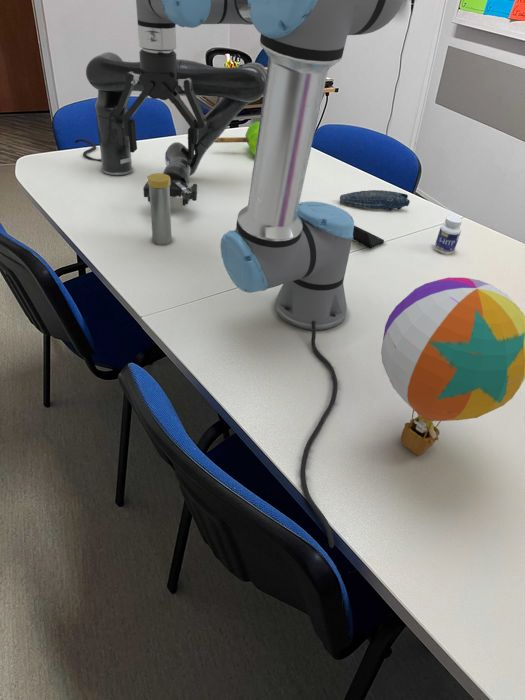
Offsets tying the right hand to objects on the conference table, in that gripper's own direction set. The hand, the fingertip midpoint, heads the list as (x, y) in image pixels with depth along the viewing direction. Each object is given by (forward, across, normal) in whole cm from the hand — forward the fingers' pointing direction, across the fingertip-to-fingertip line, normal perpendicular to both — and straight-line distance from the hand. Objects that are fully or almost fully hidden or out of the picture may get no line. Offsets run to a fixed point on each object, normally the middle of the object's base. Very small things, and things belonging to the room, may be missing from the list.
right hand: (162, 154), depth 120 cm
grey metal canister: (+22, -1, -1) cm, 22 cm away
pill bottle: (+21, +73, +14) cm, 77 cm away
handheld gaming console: (+22, +50, +13) cm, 56 cm away
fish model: (+22, +55, +38) cm, 70 cm away
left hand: (+15, -2, +9) cm, 18 cm away
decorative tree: (+22, +13, +73) cm, 77 cm away
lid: (+6, -1, -1) cm, 6 cm away
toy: (+21, +58, -59) cm, 85 cm away
